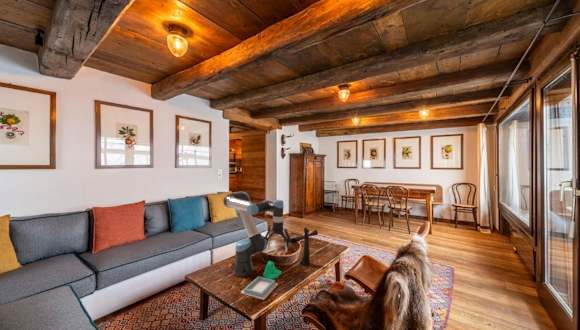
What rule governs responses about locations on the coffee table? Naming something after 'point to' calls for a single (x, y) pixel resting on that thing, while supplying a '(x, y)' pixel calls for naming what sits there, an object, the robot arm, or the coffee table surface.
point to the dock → (260, 288)
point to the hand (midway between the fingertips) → (277, 250)
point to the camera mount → (271, 271)
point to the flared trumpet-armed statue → (305, 245)
